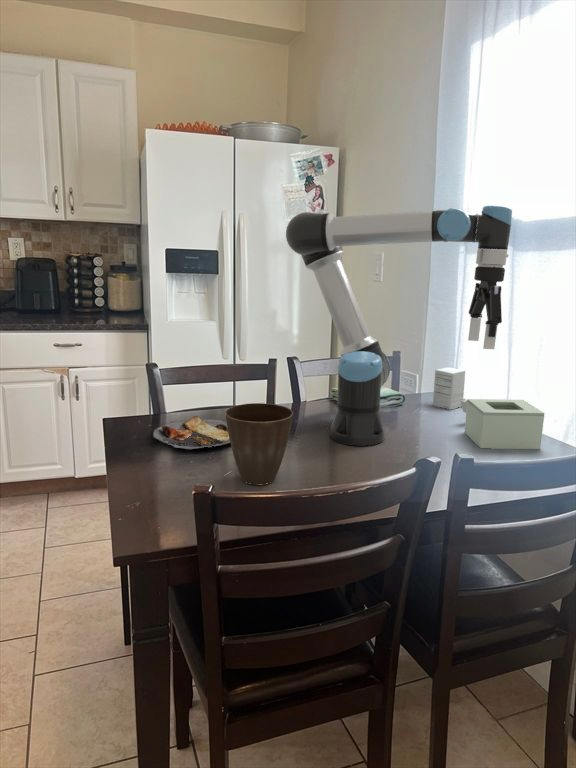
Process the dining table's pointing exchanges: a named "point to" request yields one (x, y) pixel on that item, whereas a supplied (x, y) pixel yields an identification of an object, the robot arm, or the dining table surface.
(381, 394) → the towel
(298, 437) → the dining table surface
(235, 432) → the plant pot
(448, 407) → the supplement box
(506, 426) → the box
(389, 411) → the dining table surface
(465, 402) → the lighter
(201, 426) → the food plate
